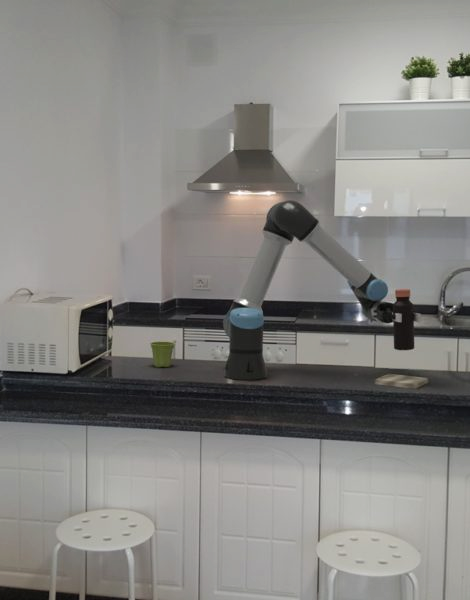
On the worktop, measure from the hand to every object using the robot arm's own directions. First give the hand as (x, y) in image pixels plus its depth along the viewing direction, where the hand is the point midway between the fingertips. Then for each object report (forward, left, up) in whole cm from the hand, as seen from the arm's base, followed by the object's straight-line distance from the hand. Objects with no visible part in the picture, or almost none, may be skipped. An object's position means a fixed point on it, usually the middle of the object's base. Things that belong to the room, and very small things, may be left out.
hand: (410, 318), depth 234 cm
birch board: (-3, +4, -23) cm, 23 cm away
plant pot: (-88, -17, -23) cm, 93 cm away
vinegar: (-3, +4, -11) cm, 12 cm away
